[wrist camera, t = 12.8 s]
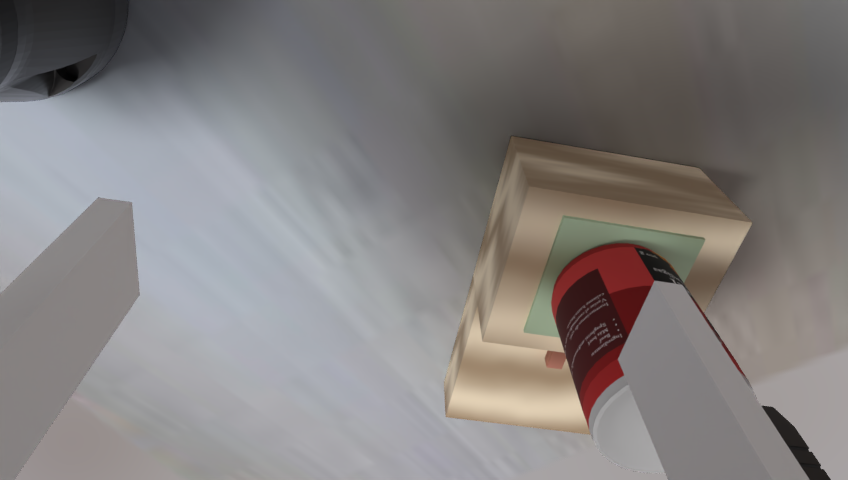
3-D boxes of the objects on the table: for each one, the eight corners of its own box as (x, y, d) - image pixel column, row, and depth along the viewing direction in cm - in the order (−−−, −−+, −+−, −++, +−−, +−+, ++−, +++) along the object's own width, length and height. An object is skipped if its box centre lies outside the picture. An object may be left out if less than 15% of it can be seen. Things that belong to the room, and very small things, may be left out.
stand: (591, 401, 55) (617, 478, 48) (444, 382, 53) (447, 459, 46) (699, 167, 43) (755, 225, 36) (511, 135, 41) (530, 188, 34)
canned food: (681, 315, 39) (764, 454, 30) (562, 348, 40) (607, 490, 31) (665, 221, 35) (755, 347, 26) (535, 260, 37) (577, 393, 27)
